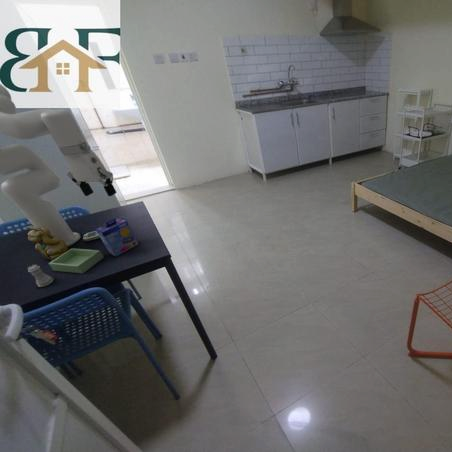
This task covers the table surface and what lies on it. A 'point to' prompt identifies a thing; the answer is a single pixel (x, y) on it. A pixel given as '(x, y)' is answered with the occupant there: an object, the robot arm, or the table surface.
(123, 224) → the ink cartridge box
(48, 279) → the rook chess piece
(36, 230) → the decorative figurine
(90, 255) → the open rectangular box
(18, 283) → the table surface
